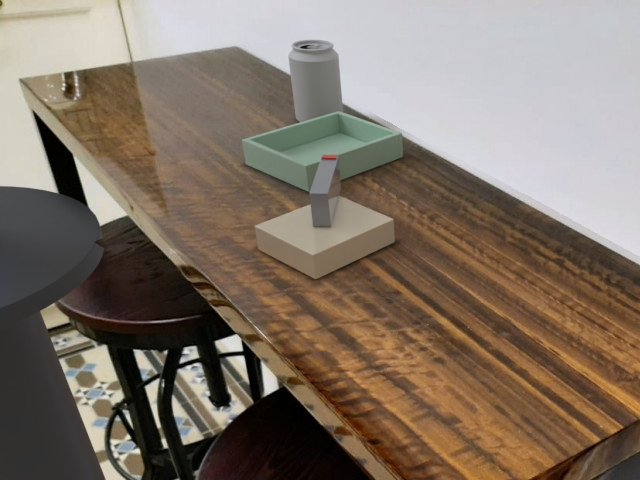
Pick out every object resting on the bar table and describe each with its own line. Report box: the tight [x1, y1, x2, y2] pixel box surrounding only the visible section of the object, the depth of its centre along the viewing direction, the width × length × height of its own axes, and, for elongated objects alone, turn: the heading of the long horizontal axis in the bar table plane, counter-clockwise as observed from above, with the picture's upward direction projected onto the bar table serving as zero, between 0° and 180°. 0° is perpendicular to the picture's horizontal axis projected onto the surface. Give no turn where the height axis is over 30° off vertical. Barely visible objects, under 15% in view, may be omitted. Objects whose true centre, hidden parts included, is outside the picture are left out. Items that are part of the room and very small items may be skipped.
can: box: [287, 39, 344, 123], centre depth 116 cm, size 8×8×12 cm
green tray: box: [241, 111, 404, 193], centre depth 106 cm, size 18×14×4 cm
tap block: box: [253, 195, 396, 280], centre depth 85 cm, size 12×10×3 cm
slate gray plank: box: [308, 155, 342, 227], centre depth 86 cm, size 11×2×4 cm, turn 3°
